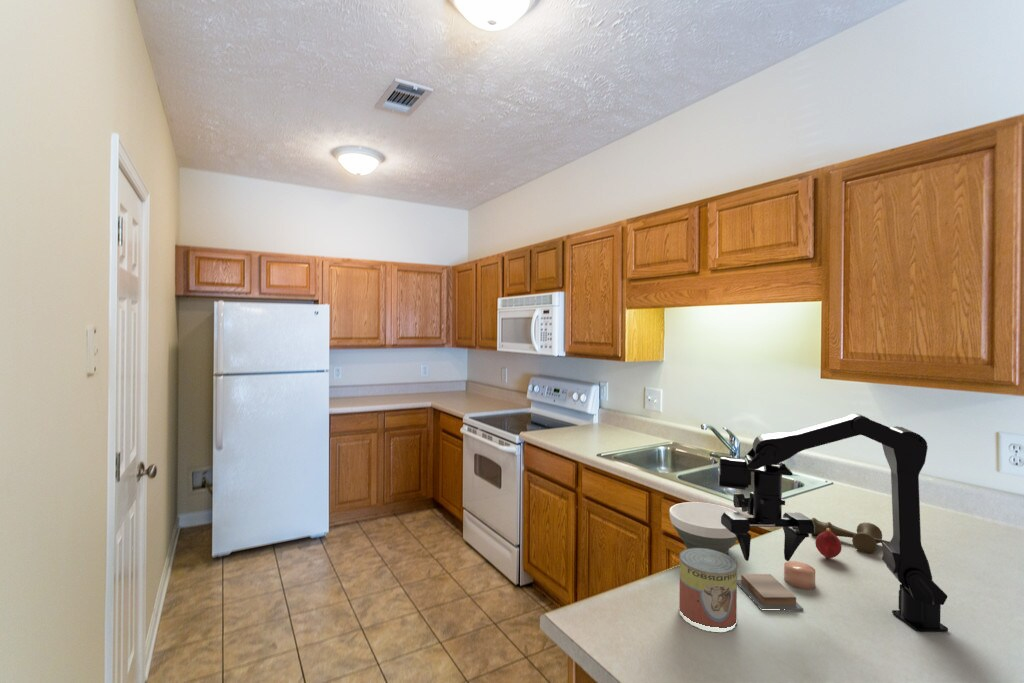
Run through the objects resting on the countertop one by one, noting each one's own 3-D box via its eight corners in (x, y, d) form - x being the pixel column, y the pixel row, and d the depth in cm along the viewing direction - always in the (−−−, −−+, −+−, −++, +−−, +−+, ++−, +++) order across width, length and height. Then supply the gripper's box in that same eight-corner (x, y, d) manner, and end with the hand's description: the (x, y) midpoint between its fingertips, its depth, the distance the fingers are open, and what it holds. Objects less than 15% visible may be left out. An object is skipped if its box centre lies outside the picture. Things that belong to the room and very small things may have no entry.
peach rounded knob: (821, 589, 111) (821, 574, 111) (794, 588, 111) (794, 574, 111) (804, 575, 117) (804, 561, 117) (778, 575, 117) (778, 561, 117)
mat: (803, 610, 102) (803, 608, 102) (761, 610, 102) (761, 608, 102) (772, 581, 114) (772, 579, 114) (735, 581, 114) (735, 579, 114)
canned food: (691, 633, 94) (691, 573, 94) (671, 601, 105) (671, 547, 105) (747, 632, 94) (748, 572, 94) (721, 601, 105) (721, 547, 105)
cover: (796, 605, 103) (796, 597, 103) (764, 605, 103) (764, 597, 103) (770, 581, 113) (770, 574, 113) (741, 581, 113) (741, 574, 113)
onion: (845, 564, 122) (846, 534, 122) (820, 562, 124) (821, 532, 123) (835, 554, 128) (835, 525, 128) (811, 552, 129) (811, 523, 129)
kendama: (814, 530, 146) (898, 549, 132) (806, 541, 139) (894, 561, 125) (814, 511, 146) (897, 527, 132) (806, 520, 139) (893, 539, 125)
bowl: (707, 529, 144) (707, 498, 144) (762, 557, 126) (762, 522, 126) (654, 539, 137) (654, 506, 137) (704, 570, 119) (704, 533, 119)
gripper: (787, 481, 116) (786, 544, 116) (711, 480, 116) (710, 544, 116) (817, 496, 105) (816, 566, 105) (732, 496, 104) (731, 566, 105)
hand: (766, 560), depth 108 cm, fingers open, 9 cm apart
